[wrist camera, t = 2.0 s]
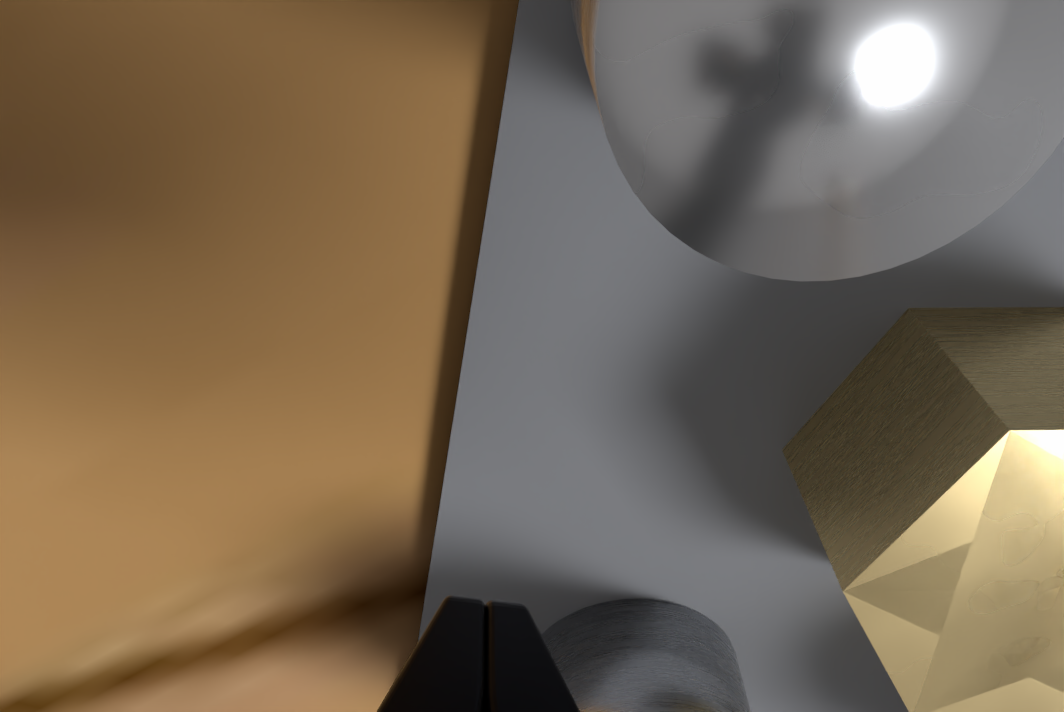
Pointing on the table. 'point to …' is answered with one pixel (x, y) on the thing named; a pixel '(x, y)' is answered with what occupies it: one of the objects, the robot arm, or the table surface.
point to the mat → (671, 395)
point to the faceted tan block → (950, 504)
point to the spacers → (799, 197)
